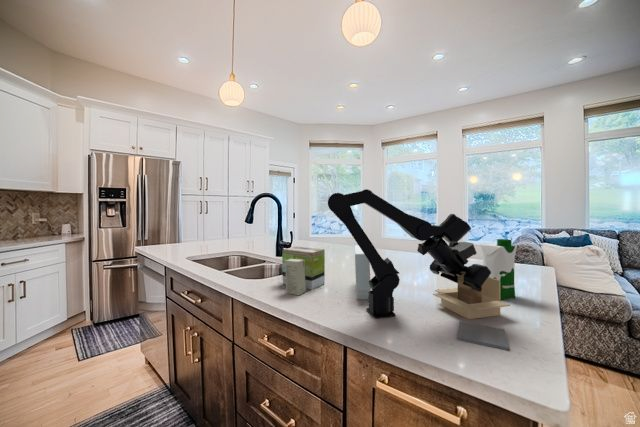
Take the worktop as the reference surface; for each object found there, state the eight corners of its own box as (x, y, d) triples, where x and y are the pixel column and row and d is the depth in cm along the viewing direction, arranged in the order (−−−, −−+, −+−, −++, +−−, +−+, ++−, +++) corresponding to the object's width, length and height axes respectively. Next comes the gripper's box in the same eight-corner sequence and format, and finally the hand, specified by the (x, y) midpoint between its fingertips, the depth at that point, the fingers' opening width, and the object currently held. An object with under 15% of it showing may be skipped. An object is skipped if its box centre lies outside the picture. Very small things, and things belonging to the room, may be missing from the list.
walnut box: (470, 313, 77) (470, 276, 77) (457, 307, 82) (457, 272, 82) (481, 312, 78) (481, 275, 78) (468, 306, 83) (468, 271, 83)
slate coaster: (457, 339, 62) (457, 336, 62) (459, 323, 71) (459, 321, 71) (509, 350, 57) (509, 347, 57) (504, 331, 66) (504, 329, 66)
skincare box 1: (306, 292, 98) (305, 259, 98) (299, 295, 94) (298, 261, 94) (292, 289, 101) (292, 258, 101) (285, 292, 98) (284, 260, 98)
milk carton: (501, 301, 87) (501, 241, 87) (477, 293, 96) (477, 238, 96) (520, 298, 90) (520, 239, 90) (494, 290, 99) (495, 237, 98)
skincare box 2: (355, 282, 111) (355, 244, 111) (368, 282, 110) (368, 245, 110) (355, 299, 90) (354, 253, 90) (371, 300, 90) (371, 253, 89)
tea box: (281, 284, 109) (281, 248, 108) (296, 279, 117) (295, 245, 117) (312, 290, 101) (311, 251, 100) (325, 284, 109) (325, 248, 109)
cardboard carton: (468, 325, 70) (468, 287, 70) (426, 303, 86) (426, 272, 86) (510, 319, 73) (510, 283, 73) (462, 299, 90) (462, 269, 90)
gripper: (485, 236, 70) (517, 275, 73) (437, 231, 88) (464, 262, 91) (460, 268, 68) (494, 306, 71) (416, 255, 86) (445, 287, 89)
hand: (473, 287), depth 80 cm, fingers closed on walnut box, 5 cm apart
